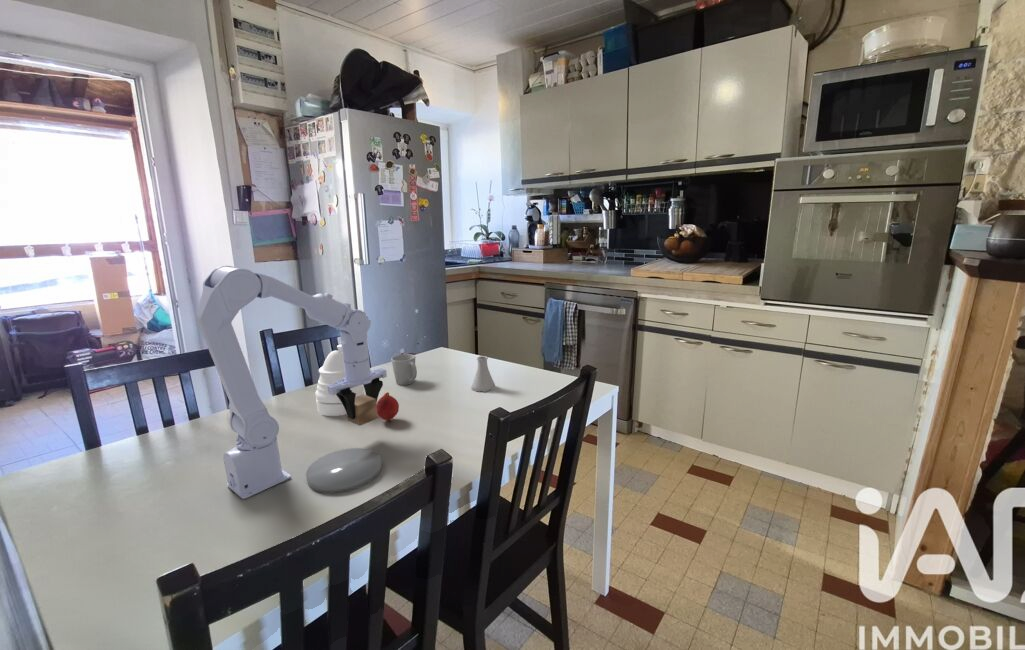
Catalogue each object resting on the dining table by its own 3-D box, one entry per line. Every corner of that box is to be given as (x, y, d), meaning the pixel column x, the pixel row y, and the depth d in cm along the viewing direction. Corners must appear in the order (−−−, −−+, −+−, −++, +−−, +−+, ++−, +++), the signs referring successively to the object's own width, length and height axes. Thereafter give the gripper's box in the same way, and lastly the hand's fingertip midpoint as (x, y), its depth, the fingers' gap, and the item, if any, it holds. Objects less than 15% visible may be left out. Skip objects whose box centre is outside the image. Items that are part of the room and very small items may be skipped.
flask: (481, 382, 148) (480, 352, 145) (499, 386, 144) (498, 356, 141) (466, 389, 142) (465, 358, 140) (485, 394, 138) (483, 362, 136)
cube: (359, 425, 107) (357, 405, 106) (347, 420, 110) (345, 400, 109) (377, 418, 111) (375, 398, 109) (365, 413, 114) (363, 394, 112)
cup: (408, 376, 154) (406, 352, 152) (426, 383, 148) (424, 358, 146) (388, 383, 149) (386, 357, 147) (406, 390, 142) (404, 364, 140)
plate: (332, 502, 88) (331, 495, 87) (293, 476, 97) (292, 469, 96) (396, 467, 99) (395, 461, 99) (355, 447, 108) (355, 441, 108)
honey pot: (364, 395, 139) (358, 338, 135) (365, 411, 128) (358, 349, 123) (319, 401, 136) (311, 342, 131) (315, 419, 124) (306, 355, 119)
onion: (393, 426, 118) (391, 397, 116) (373, 425, 119) (370, 396, 118) (403, 416, 124) (401, 389, 122) (383, 415, 125) (381, 387, 123)
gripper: (337, 371, 99) (344, 429, 102) (392, 354, 110) (397, 407, 113) (319, 365, 103) (326, 421, 106) (374, 349, 114) (379, 400, 117)
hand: (361, 413), depth 110 cm, fingers closed on cube, 5 cm apart
